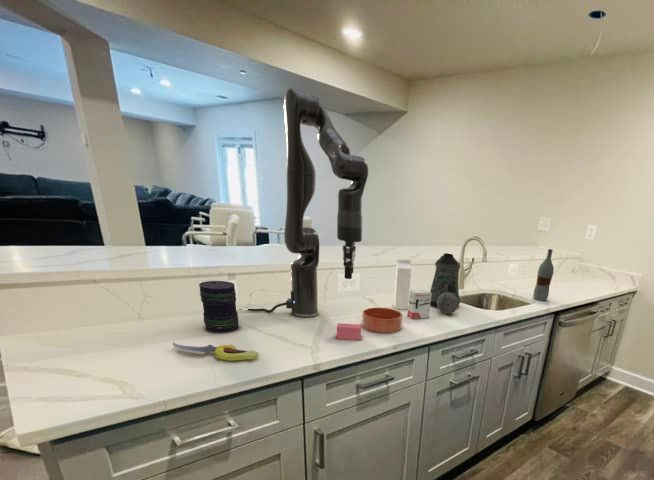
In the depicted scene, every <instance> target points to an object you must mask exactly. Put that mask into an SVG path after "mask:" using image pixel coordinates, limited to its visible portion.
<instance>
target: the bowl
mask: <svg viewBox="0 0 654 480" xmlns="http://www.w3.org/2000/svg"><path fill="white" fill-rule="evenodd" d="M361 316H362V320H361V326H362V327H363V328H364V329H365V330H367V331H370V332H373V333H377V334H378V333H380V334H392V333H396V332H399V331H400V330H401V329H402V326H403V313H402V312H401V311H399V310H398V309H393V308H387V307H368V308H366V309H364V310H362V315H361Z"/></svg>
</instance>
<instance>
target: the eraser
mask: <svg viewBox="0 0 654 480" xmlns="http://www.w3.org/2000/svg"><path fill="white" fill-rule="evenodd" d="M361 338H362V324H358V323H357V324H356V323H342V322H341V323H339V322H338V323H337V324H336V340H346V341H347V340H348V341H361V340H362V339H361Z"/></svg>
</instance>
